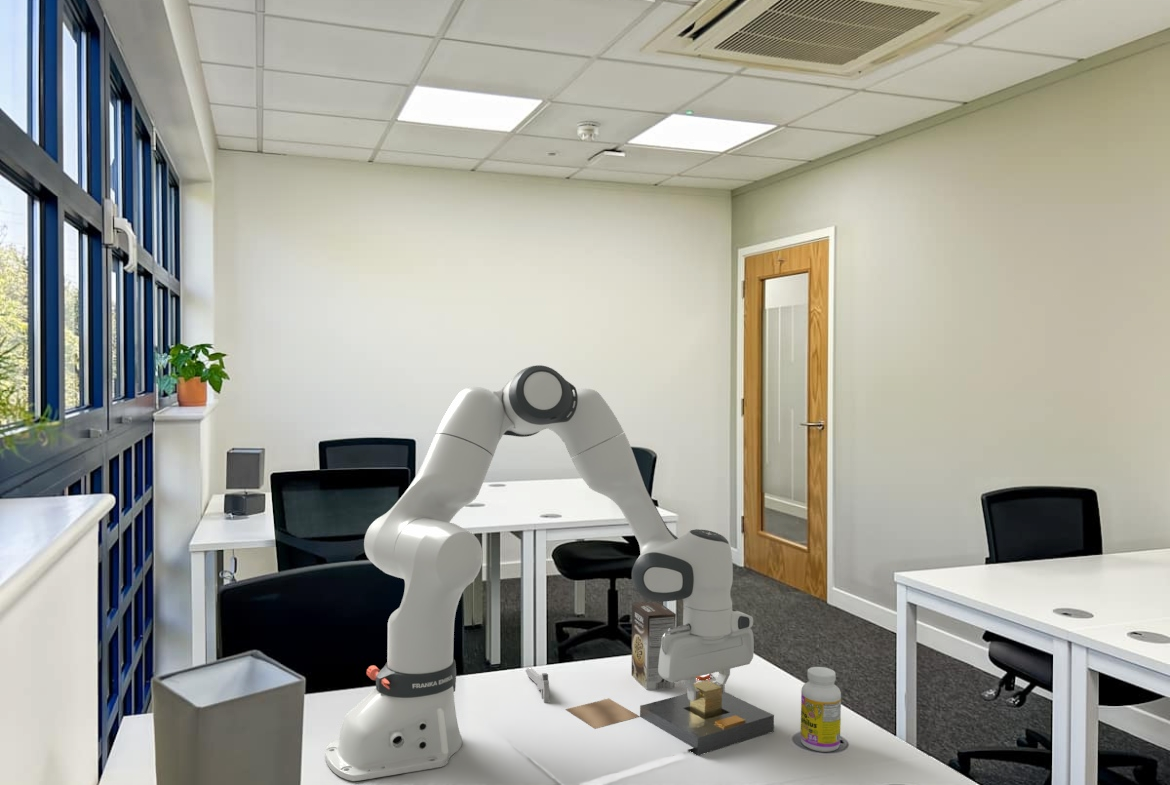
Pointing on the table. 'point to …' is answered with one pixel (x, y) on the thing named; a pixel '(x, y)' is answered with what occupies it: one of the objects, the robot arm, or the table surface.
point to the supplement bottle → (820, 710)
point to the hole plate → (709, 722)
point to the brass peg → (707, 700)
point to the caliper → (540, 683)
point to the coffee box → (649, 642)
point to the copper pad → (602, 713)
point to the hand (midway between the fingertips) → (706, 696)
